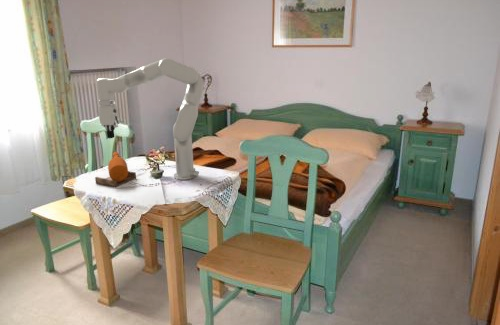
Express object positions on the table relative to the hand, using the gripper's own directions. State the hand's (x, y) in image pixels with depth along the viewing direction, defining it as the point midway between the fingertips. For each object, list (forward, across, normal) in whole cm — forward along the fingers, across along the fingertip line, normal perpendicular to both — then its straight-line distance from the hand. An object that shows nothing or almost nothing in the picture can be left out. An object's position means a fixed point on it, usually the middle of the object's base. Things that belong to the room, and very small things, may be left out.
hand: (111, 137), depth 203 cm
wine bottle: (+18, -7, +4) cm, 20 cm away
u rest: (+24, 0, 0) cm, 24 cm away
